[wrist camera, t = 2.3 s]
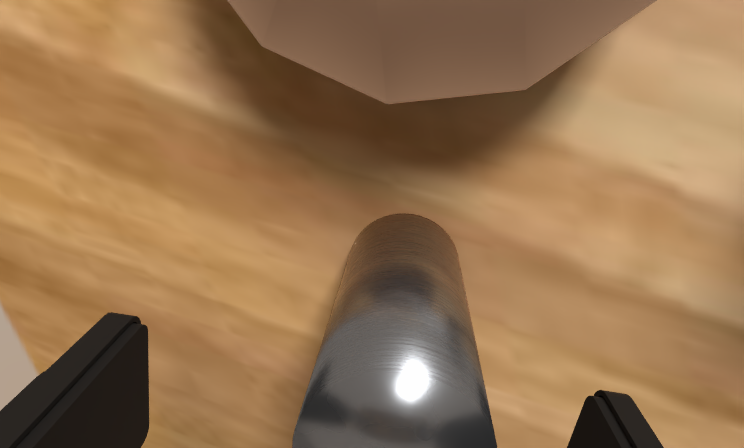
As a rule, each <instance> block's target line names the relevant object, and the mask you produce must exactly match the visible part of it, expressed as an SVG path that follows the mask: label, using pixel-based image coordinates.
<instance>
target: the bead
mask: <svg viewBox="0 0 744 448" xmlns="http://www.w3.org/2000/svg"><path fill="white" fill-rule="evenodd" d="M227 1H228V2H229V3H230V5H231V6H232V7H233V9H234V10H235V11H236V13H237V14H238V15H239V17H240V18H241V19H242V21H243V22H244V24H245V25H246V26H247V28H248V29H249V30H250V32H251V33H252V34H253V36H254V37H255V38H256V40H257V41H258V42H259V44H260V45H261V46H262V47H264V48H266V49H268V50H270V51H273V52H275V53H277V54H279V55H281V56H283V57H286V58H288V59H290V60H292V61H294V62H296V63H299V64H301V65H303V66H305V67H307V68H309V69H312V70H314V71H316V72H318V73H320V74H322V75H325V76H327V77H329V78H331V79H333V80H335V81H338V82H340V83H342V84H344V85H346V86H348V87H351V88H353V89H355V90H357V91H359V92H361V93H364V94H366V95H368V96H370V97H372V98H374V99H377V100H379V101H381V102H383V103H385V104H394V103H404V102H414V101H423V100H433V99H443V98H453V97H462V96H472V95H482V94H491V93H501V92H511V91H520V90H526V89H528V88H529V87H531V86H532V85H534V84H535V83H536V82H538V81H539V80H541V79H542V78H544V77H545V76H547V75H548V74H550V73H551V72H553V71H554V70H555V69H557V68H558V67H560V66H561V65H563V64H564V63H566V62H567V61H569V60H570V59H572V58H573V57H575V56H576V55H577V54H579V53H580V52H582V51H583V50H585V49H586V48H588V47H589V46H591V45H592V44H594V43H595V42H596V41H598V40H599V39H601V38H602V37H604V36H605V35H607V34H608V33H610V32H611V31H613V30H614V29H615V28H617V27H618V26H620V25H621V24H623V23H624V22H626V21H627V20H629V19H630V18H632V17H633V16H634V15H636V14H637V13H639V12H640V11H642V10H643V9H645V8H646V7H648V6H649V5H651V4H652V3H653V2H655V1H656V0H227Z"/></svg>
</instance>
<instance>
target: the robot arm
mask: <svg viewBox="0 0 744 448" xmlns="http://www.w3.org/2000/svg"><path fill="white" fill-rule="evenodd" d="M148 429H149V376H148V328H147V326H146V325H142V324H141V321H140V319H139V318H138V317H137V316H131V315H124V314H118V313H112V312H111V313H108V314H106V315H105V316H104V317H103V318H101V319H100V320H99V321H98V322H97V323H96V324H95V325H94V326H93V327H92V328H91V329H90V330H89V331H88V332H87V333H86V334H85V335H83V336H82V337H81V338H80V339H79V340H78V341H77V342H76V343H75V344H74V345H73V346H72V347H71V348H70V349H69V350H68V351H67V352H65V353H64V354H63V355H62V356H61V357H60V358H59V359H58V360H57V361H56V362H55V363H54V364H53V365H52V366H51V367H50V368H48V369H47V370H46V371H45V372H43V373H41V374H40V375H39V376H37V377H36V378H35V379H34V380H33V381H32V382H31V383H30V384H29V385H28V386H26V388H24V389H23V390H22V391H21V392H20V393H19V394H18V395H17V396H16V397H15V398H14V399H13V400H12V401H11V402H9V403H8V405H6V406H5V407H4V408H3V409H2V410H1V411H0V448H141V446H142V445H143V443H144V441H145V439H146V436H147V433H148ZM567 448H664V447H663V446H662V444H661V443H660V441H659V440H658V438H657V437H656V435H655V433H654V432H653V430H652V429H651V427H650V426H649V424H648V423H647V421H646V420H645V418H644V416H643V415H642V413H641V412H640V410H639V409H638V407H637V406H636V404H635V403H634V401H633V400H632V398H631V397H630V396H629V395H627V394H622V393H616V392H609V391H603V390H599V391H597V392H596V393H595V394H594V396H588V397H587V398H586V400H585V402H584V405H583V407H582V410H581V413H580V415H579V418H578V420H577V423H576V426H575V428H574V431H573V434H572V436H571V439H570V441H569V444H568V447H567Z"/></svg>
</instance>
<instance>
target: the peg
mask: <svg viewBox="0 0 744 448" xmlns="http://www.w3.org/2000/svg"><path fill="white" fill-rule="evenodd" d="M292 448H497V444H496V439H495V434H494V429H493V424H492V420H491V415H490V410H489V405H488V400H487V395H486V390H485V385H484V380H483V376H482V371H481V366H480V361H479V356H478V351H477V346H476V341H475V336H474V332H473V327H472V322H471V317H470V312H469V307H468V302H467V297H466V292H465V288H464V283H463V278H462V273H461V268H460V263H459V258H458V254H457V250H456V247H455V245H454V243H453V241H452V240H451V238H450V236H449V235H448V234H447V233H446V232H445V231H444V230H443V229H442V228H441V227H440V226H439V225H437V224H436V223H435V222H433V221H431V220H429V219H427V218H424V217H422V216H418V215H414V214H393V215H389V216H385V217H382V218H380V219H377V220H376V221H374V222H372V223H371V224H369V225H368V226H367V227H366V228H365V229H364V230H363V231H362V232H361V233H360V234H359V235H358V237H357V238H356V240H355V242H354V244H353V246H352V249H351V252H350V255H349V258H348V262H347V265H346V268H345V271H344V274H343V278H342V281H341V284H340V287H339V290H338V293H337V297H336V300H335V303H334V306H333V309H332V313H331V316H330V319H329V322H328V325H327V328H326V332H325V335H324V338H323V341H322V344H321V348H320V351H319V354H318V357H317V360H316V363H315V367H314V370H313V373H312V376H311V379H310V383H309V386H308V389H307V392H306V395H305V398H304V402H303V405H302V408H301V411H300V414H299V418H298V421H297V424H296V427H295V431H294V436H293V447H292Z"/></svg>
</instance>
